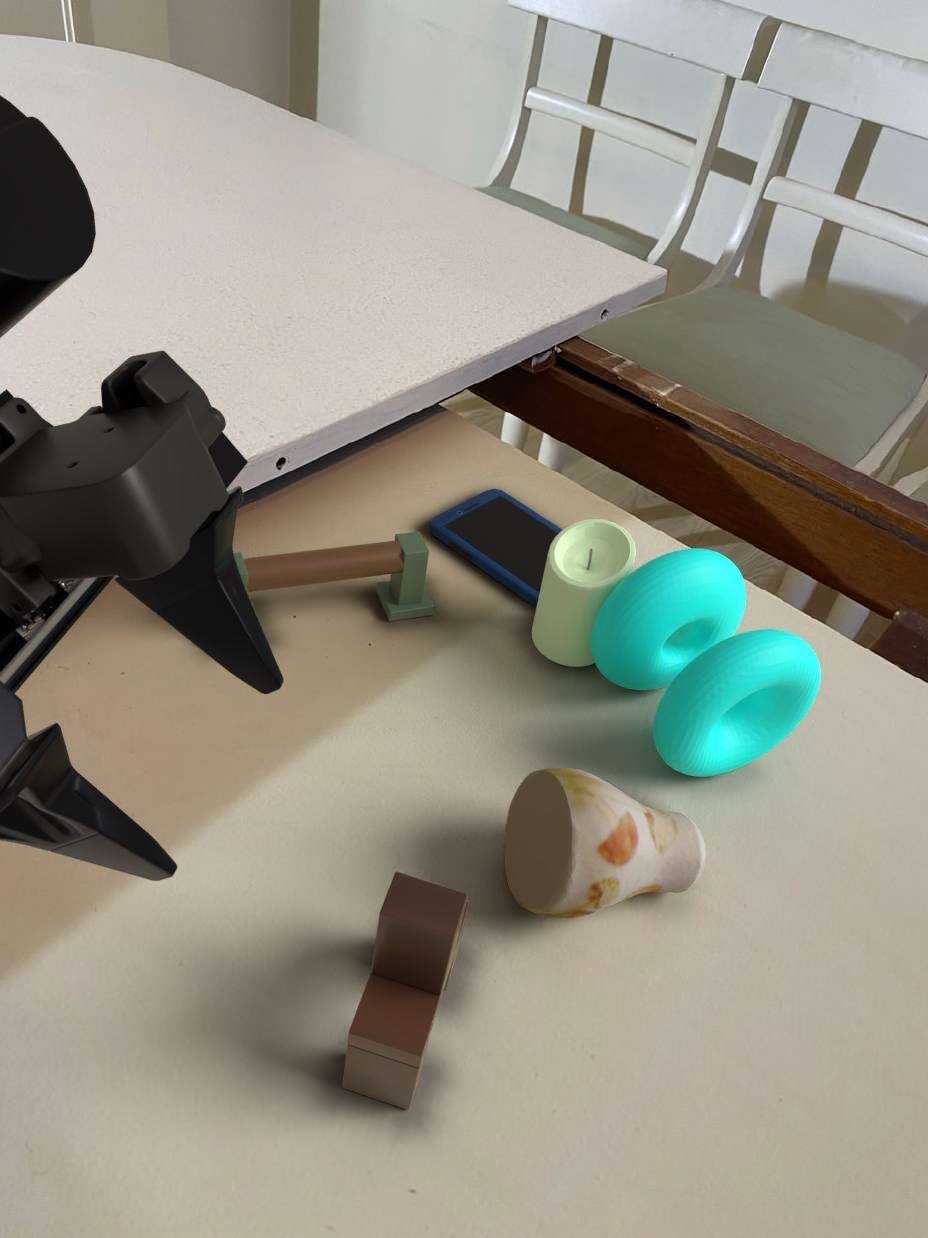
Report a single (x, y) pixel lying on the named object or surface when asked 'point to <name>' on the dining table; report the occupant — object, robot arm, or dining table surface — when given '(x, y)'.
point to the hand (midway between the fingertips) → (226, 773)
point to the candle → (579, 587)
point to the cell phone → (500, 539)
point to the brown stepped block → (404, 988)
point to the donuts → (704, 662)
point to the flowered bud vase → (592, 845)
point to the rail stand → (351, 572)
